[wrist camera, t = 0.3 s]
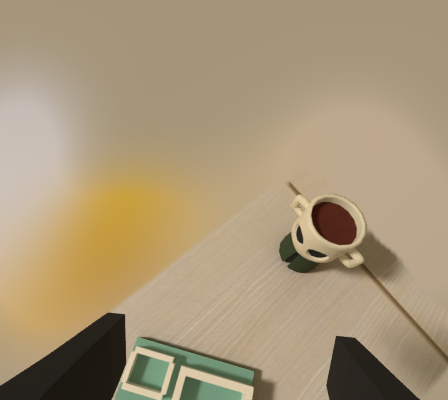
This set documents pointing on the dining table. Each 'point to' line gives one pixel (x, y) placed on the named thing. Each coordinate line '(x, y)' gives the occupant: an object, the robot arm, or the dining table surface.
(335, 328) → the dining table surface
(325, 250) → the character mug
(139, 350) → the board
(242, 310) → the dining table surface
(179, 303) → the dining table surface
